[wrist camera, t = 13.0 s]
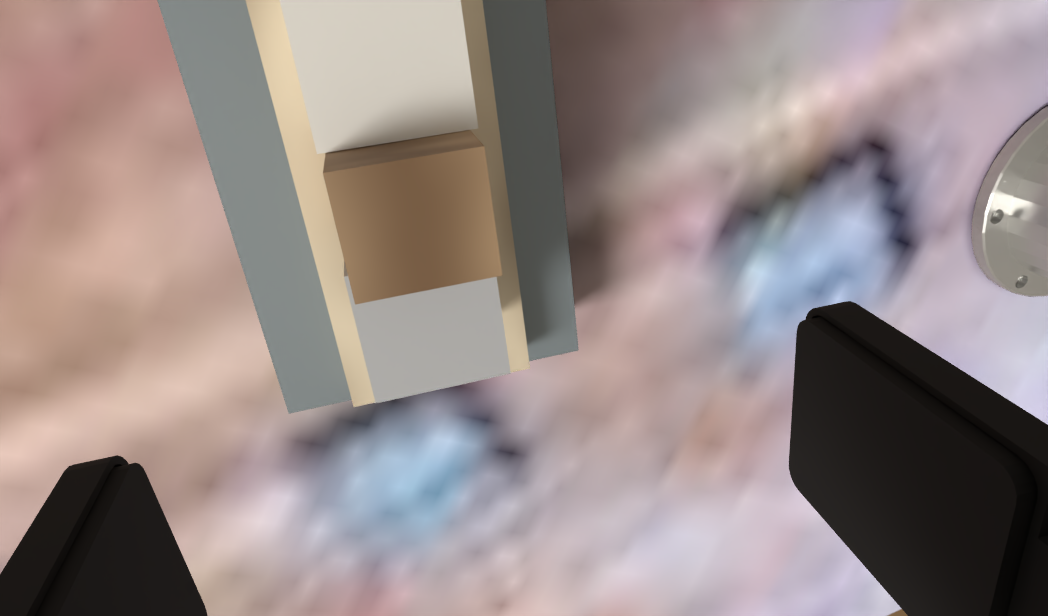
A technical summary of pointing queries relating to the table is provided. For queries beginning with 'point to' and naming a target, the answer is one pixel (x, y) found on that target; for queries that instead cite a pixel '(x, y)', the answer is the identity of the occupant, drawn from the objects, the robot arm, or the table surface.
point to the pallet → (320, 197)
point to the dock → (274, 210)
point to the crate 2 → (432, 338)
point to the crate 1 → (380, 69)
